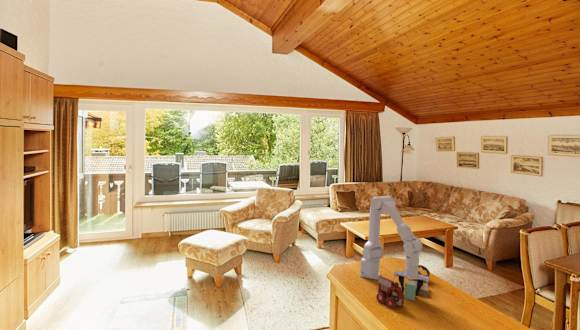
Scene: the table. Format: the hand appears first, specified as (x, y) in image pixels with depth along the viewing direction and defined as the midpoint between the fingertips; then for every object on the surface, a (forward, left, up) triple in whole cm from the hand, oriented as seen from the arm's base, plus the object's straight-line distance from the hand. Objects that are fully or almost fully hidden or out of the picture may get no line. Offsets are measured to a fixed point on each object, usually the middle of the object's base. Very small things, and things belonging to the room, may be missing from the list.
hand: (409, 293), depth 141 cm
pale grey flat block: (+4, +8, -2) cm, 10 cm away
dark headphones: (+3, +22, -2) cm, 22 cm away
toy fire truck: (-8, -9, -2) cm, 12 cm away
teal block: (0, 0, -2) cm, 2 cm away
